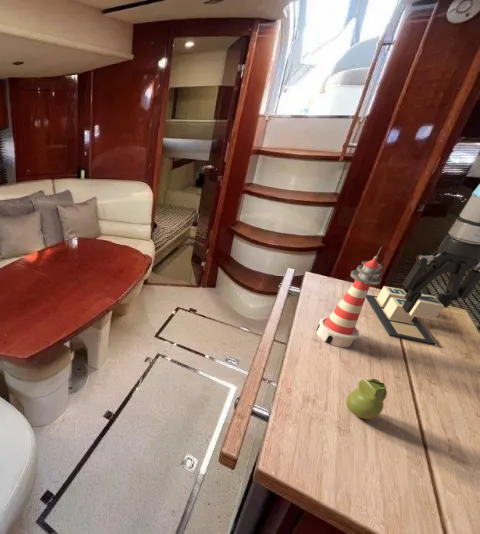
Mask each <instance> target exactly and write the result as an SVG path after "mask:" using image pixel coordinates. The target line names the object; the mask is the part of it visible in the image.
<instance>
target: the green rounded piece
mask: <svg viewBox="0 0 480 534" xmlns="http://www.w3.org/2000/svg"><path fill="white" fill-rule="evenodd" d="M357 383H358V388H356V389H354V390H353V391H351V392H350V393H349V394H348V395H347V397H346V400H345V404H346V407H347V409H348V410H349V412H351V413H352V414H353V415H354V416H356V417H358V418H360V419H365V420H369V419H374V418H376V417H378V416H379V415H380V414H381V413H382V411H383V409H384V401H385V399H386V398H387V393H388V391H387V386H386V385H385V383H384V382H381V381H380V380H378V379H377V378H376V379H375V378H370V379H361V380H358V382H357Z"/></svg>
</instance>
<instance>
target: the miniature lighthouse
mask: <svg viewBox="0 0 480 534" xmlns="http://www.w3.org/2000/svg"><path fill="white" fill-rule="evenodd" d="M382 247H383V246H381V247H380V248H379V251H378V252H377V254H376V255H375V256H373V258H372V259H371V260H363V261H361V264H359V265H358V266H357V267H356V269H354V270H352V271H351V273H350V277H351V278H352V279H353V280H354V282H353V283H352V284H351V285H350V287H349V289H348V290H347V292H346V293H345V294H344V295H343V297H342V298H341V300H340V301H339V302H338V304H337V305H336V307H335V308H334V310H333V311H332V312H331V314H330V315H329V316H325V317H322V318H320V319H319V322H318V323H319V324H318V325H317V327H316V334H317V336H318V337H319V338H320V339H321V340H322V341H324V342H325V343H326V344H328V345H331V346H335V347H338V348H348V347H351V346H352V345H353V343H354V341H355V340H356V339H357V338H359V336H360V332H359V330H358V328H357V327H356V325H357V323H358V320H359V317H360V315H361V312H362V309H363V306H364V304H365V300H366V299H367V298H366V295H368V293H369V289H370V287H371V285H373V286H374V285H375V286H376V285H380V283H381V282H382V280H383V279H382V277H381V275H382V274H383V272H382V271H381V270H382V269H383V268H384V267H383V265H382V264H380V263H379V262H378V259H379V256H378V255H379V254H380V251H381V250H382Z"/></svg>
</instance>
